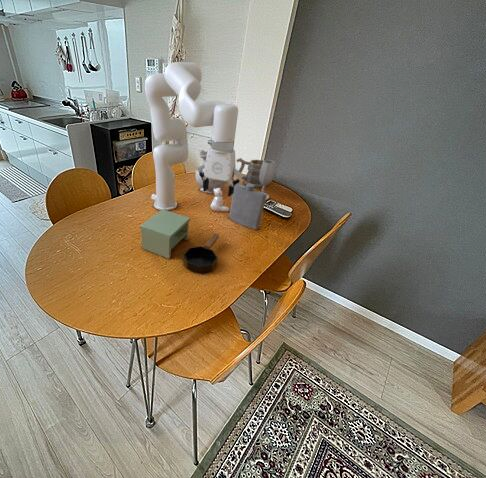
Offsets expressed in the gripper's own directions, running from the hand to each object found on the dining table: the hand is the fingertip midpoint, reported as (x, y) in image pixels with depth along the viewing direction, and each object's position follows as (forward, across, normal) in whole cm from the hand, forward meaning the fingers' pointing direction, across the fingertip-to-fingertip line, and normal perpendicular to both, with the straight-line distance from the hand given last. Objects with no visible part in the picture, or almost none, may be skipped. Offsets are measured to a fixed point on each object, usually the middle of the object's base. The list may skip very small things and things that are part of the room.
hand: (217, 192), depth 96 cm
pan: (+24, +1, -9) cm, 26 cm away
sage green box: (+24, -17, -9) cm, 31 cm away
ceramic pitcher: (+23, -23, +54) cm, 63 cm away
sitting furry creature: (+24, -10, +32) cm, 41 cm away
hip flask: (+24, +6, +25) cm, 35 cm away
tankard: (+23, -7, +77) cm, 80 cm away
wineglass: (+24, +6, +59) cm, 64 cm away
